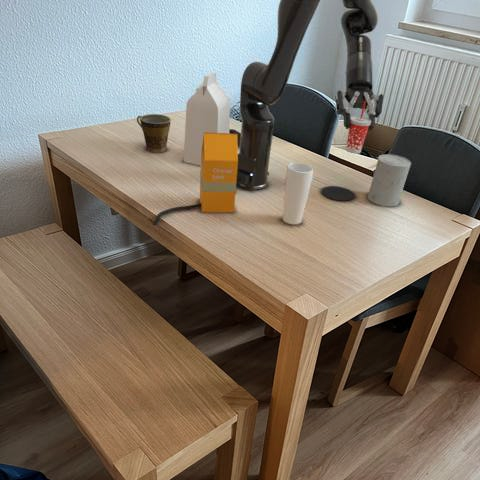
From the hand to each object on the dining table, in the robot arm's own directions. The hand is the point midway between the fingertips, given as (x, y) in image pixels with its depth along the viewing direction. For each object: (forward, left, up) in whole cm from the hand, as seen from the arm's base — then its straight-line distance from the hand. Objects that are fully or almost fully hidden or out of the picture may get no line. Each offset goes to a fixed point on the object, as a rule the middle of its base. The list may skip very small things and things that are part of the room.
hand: (359, 128), depth 137 cm
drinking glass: (-30, +1, -19) cm, 36 cm away
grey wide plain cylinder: (+3, -12, -19) cm, 23 cm away
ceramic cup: (-19, +64, -19) cm, 70 cm away
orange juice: (-38, +21, -19) cm, 48 cm away
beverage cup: (0, 0, -7) cm, 7 cm away
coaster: (-4, 0, -19) cm, 19 cm away
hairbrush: (+10, +47, -19) cm, 52 cm away
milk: (-13, +45, -19) cm, 51 cm away
